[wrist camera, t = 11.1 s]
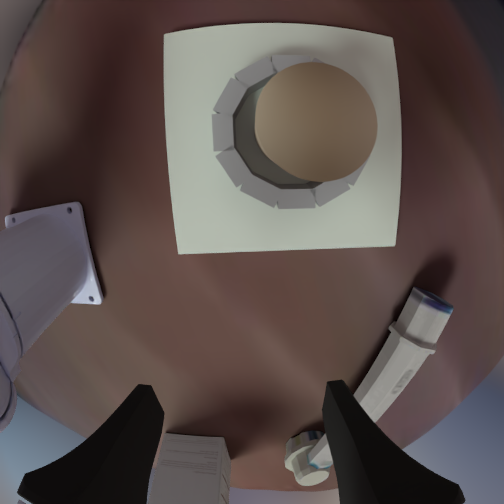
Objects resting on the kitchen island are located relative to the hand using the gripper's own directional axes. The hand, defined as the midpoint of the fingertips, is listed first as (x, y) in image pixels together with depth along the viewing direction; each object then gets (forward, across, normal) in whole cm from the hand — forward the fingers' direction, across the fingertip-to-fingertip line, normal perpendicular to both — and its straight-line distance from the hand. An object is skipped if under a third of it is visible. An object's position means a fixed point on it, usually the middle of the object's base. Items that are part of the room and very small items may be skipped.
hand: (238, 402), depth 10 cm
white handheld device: (+10, -9, +12) cm, 18 cm away
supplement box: (+10, +8, +23) cm, 26 cm away
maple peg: (+9, -3, -10) cm, 14 cm away
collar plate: (+9, -3, -10) cm, 14 cm away
